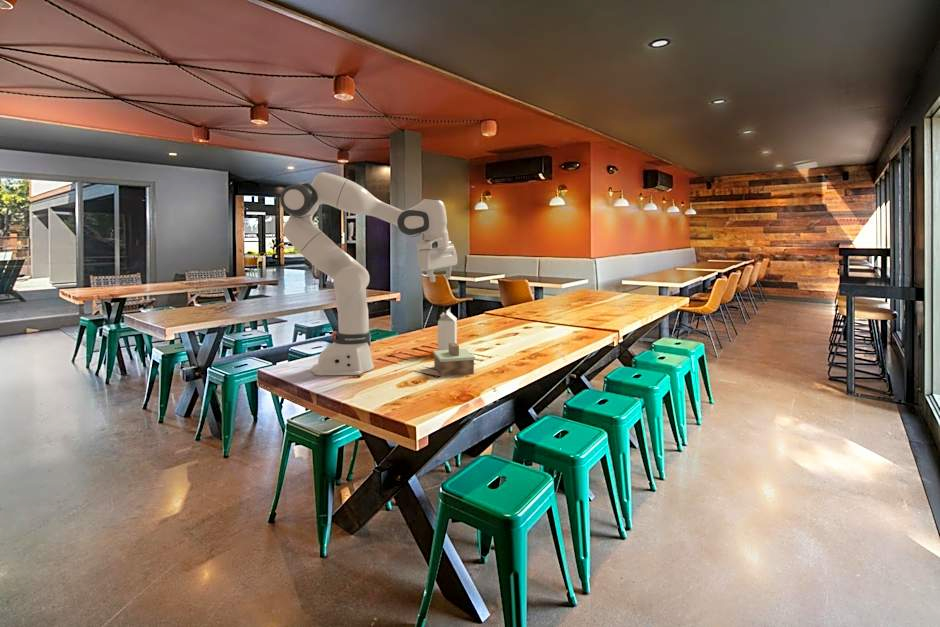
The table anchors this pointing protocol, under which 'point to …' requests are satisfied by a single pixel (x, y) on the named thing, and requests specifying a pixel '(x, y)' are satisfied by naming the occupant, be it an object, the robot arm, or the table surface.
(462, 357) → the lid
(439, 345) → the milk carton
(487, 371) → the table surface
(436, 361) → the walnut box
